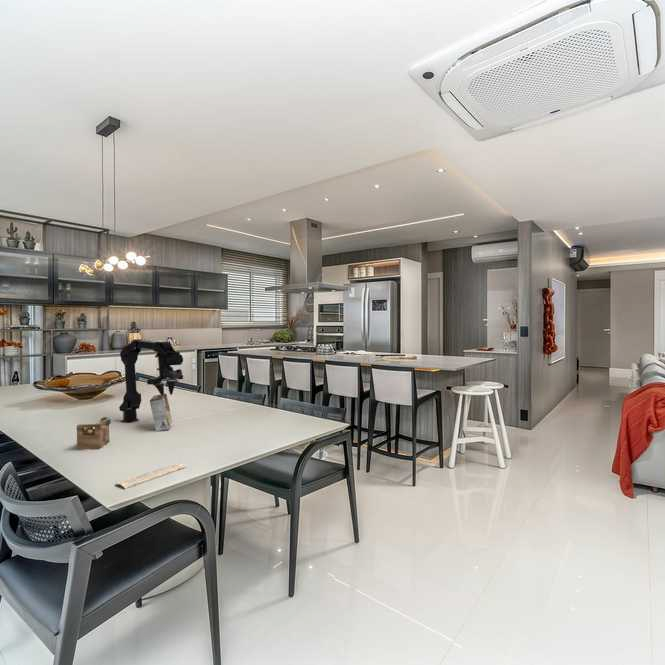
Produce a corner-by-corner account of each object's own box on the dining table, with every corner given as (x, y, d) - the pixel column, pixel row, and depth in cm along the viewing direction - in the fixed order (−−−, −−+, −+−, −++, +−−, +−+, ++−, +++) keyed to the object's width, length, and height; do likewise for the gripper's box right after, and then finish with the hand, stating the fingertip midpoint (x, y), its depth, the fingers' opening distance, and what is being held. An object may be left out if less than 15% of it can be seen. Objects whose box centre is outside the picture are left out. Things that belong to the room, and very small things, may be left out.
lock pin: (100, 426, 189) (100, 417, 189) (110, 426, 190) (110, 416, 190) (83, 436, 172) (83, 426, 172) (95, 436, 173) (94, 425, 173)
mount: (87, 443, 181) (87, 420, 181) (109, 442, 182) (109, 419, 182) (77, 450, 171) (76, 425, 171) (100, 449, 172) (99, 424, 172)
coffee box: (159, 425, 209) (153, 395, 207) (172, 423, 210) (166, 393, 208) (155, 431, 200) (149, 400, 198) (169, 429, 201) (163, 397, 199)
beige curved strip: (125, 491, 130) (124, 486, 130) (112, 487, 134) (112, 481, 134) (187, 469, 150) (187, 464, 150) (175, 465, 154) (174, 461, 154)
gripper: (160, 367, 199) (163, 399, 199) (189, 363, 215) (192, 392, 216) (145, 368, 204) (147, 399, 204) (174, 363, 220) (176, 392, 221)
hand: (167, 395), depth 211 cm, fingers open, 5 cm apart
